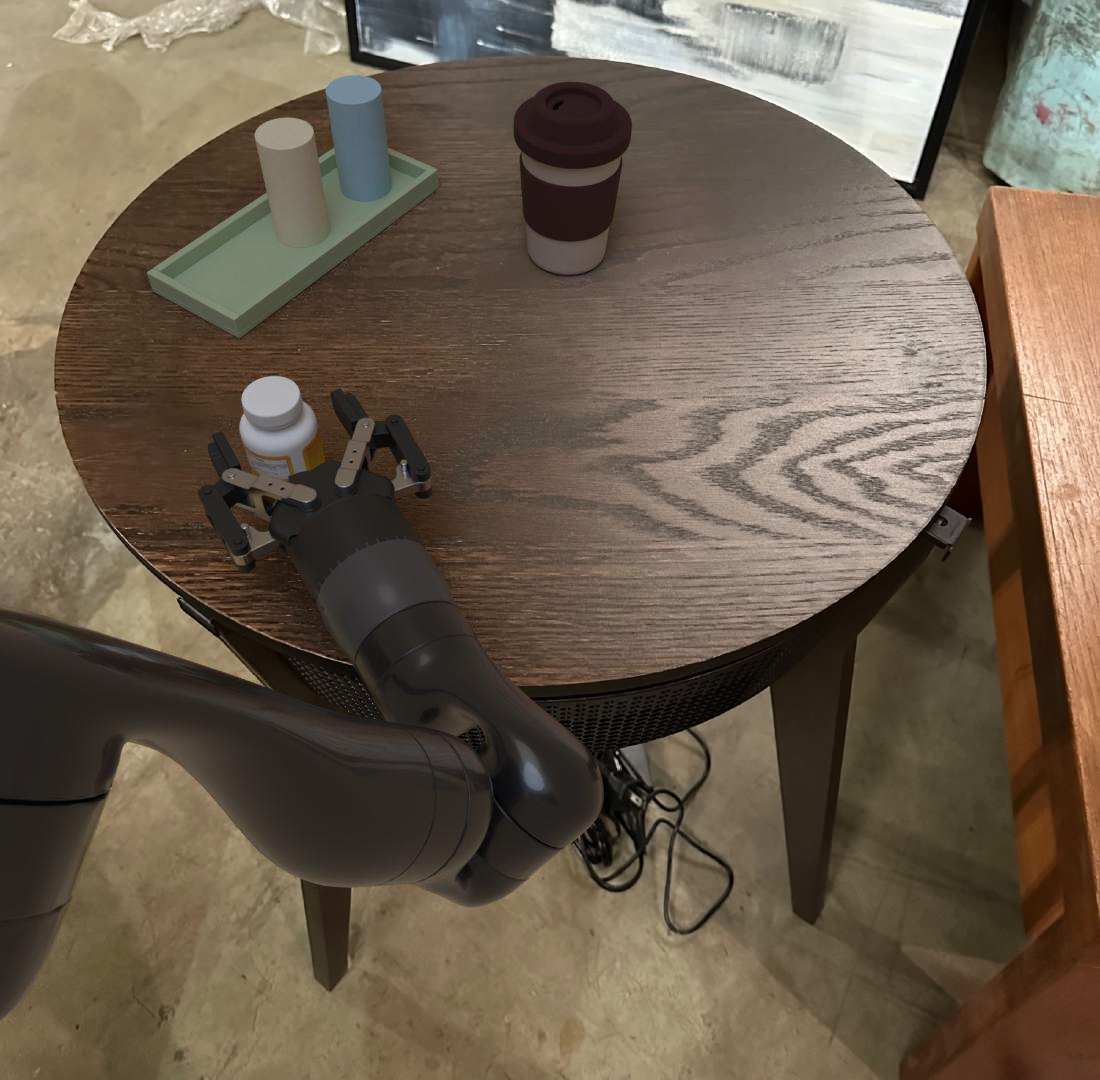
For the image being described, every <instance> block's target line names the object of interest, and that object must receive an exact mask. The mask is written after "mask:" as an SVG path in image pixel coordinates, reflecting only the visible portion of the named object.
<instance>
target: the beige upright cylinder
mask: <svg viewBox="0 0 1100 1080" xmlns="http://www.w3.org/2000/svg"><path fill="white" fill-rule="evenodd" d="M254 140H255V145H256V150H257V153H258V154H257V155H258V158H259V163H260V168H261V173H262V177H263V181H264V187H265V192H266V193H267V196H268V201H269V205H270V210H271V215H272V219H273V224H274V228H275V233H276V237H277V239H278V240H279V241H280V242H281V243H283V244H284V245H287V246H290V247H294V248H306V247H311V246H315V245H317V244H319V243H321V242H322V241H324V240H325V239H326V238H327V237H328V235H329V233H330V226H329V220H328V214H327V208H326V202H325V196H324V190H323V184H322V178H321V172H320V166H319V160H318V158H319V155H318V154H319V153H318V148H317V143H316V137H315V131H314V127H313V126H312V125H311V124H310V123H309V122H308V121H306V120H303V119H300V118H297V117H279V118H273V119H270V120H268V121H265V122H264V123H262V124H260V125H259V126H258V127H257V129H256V130H255V132H254Z"/></svg>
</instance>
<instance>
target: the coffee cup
mask: <svg viewBox="0 0 1100 1080" xmlns="http://www.w3.org/2000/svg"><path fill="white" fill-rule="evenodd" d="M632 130H633V121H632V118H631V115H630V113H629V112H628V110H627V109H626V108H625V107H624V106H623V105H622V104H621V103H620V102H618V101H616V100H615V99H614V98H613V97H612V95H611V94H610V93H609V92H607V91H606V90H605V89H603V88H601V87H599V86H597V85H594V84H591V83H587V82H582V81H561V82H556V83H552V84H549V85H546V86H545V87H543V88H541V89H539V90H538V91H537V92H536V93H535V95H533V96H531V97H530V98H527V99H526V100H525V101H523V102H522V103H521V104H520V105H519V106H518V107H517V109H516V110H515V113H514V115H513V139H514V143H515V145H516V146H517V148H518V149H519V150H520V153H519V161H518V162H519V173H520V174H519V175H520V176H519V177H520V188H521V202H522V204H521V205H522V215H523V219H524V221H525V227H526V228H525V230H526V243H527V245H526V246H527V252H528V255H529V257H530V259H531V261H532V262H533V263H534V264H535V265H536V266H537V267H539V268H541V269H542V270H544V271H546V272H549V273H552V274H556V275H561V276H562V275H563V276H571V275H572V276H574V275H581V274H584V273H587V272H589V271H592V270H593V269H595V268H596V267H597V266H599V265H600V264H601V262H602V261H603V259H604V256H605V255H606V251H607V244H608V237H609V232H610V226H611V224H612V222H613V220H614V217H615V216H614V215H615V211H616V206H617V205H616V203H617V198H618V194H619V193H618V192H619V187H620V181H621V180H620V179H621V174H622V169H623V154H625V152H627V150H628V148H629V147H630V144H631V141H632Z"/></svg>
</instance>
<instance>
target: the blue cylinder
mask: <svg viewBox="0 0 1100 1080" xmlns="http://www.w3.org/2000/svg"><path fill="white" fill-rule="evenodd" d="M382 90H383V89H382V85H381V84H380V82H378V81H377V80H376V79H374V78H372V77H369V76H365V75H361V74H360V75H359V74H358V75H357V74H353V75H352V74H351V75H344V76H341V77H340V76H339V77H338V78H335V79H333V80H332V81H330V82H329V83H328V84H327V85H326V87H325V97H326V103H327V109H328V117H329V123H330V130H331V136H332V142H333V148H334V150H335V157H336V163H337V170H338V177H339V183H340V189H341V192H342V193H343V195H344V196H346V197H347V198H349V199H352V200H355V201H363V202H366V201H374V200H378V199H380V198H382V197H384V196H386V195H387V194H388V193H389V192H390V190H391V187H392V184H391V174H390V165H389V155H388V148H389V147H388V138H387V137H388V136H387V128H386V119H385V117H386V116H385V109H384V99H383V91H382Z"/></svg>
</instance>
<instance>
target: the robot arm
mask: <svg viewBox="0 0 1100 1080" xmlns="http://www.w3.org/2000/svg"><path fill="white" fill-rule="evenodd" d="M329 395H330V400H331V405H332V409H333V412H334V414H335V416H336V417H337V419H338V420H339V422H340V423H341V425H342V426H343V428H344V430H345V431H346V433H347V434H348V436H349V437H350V439H349V440H348V442H347V445H346V449H345V451H344V454H343V458H342V460H341V461H334V459H333V458H332V459H329V460H327V461H326V462H324V463H322V464H320V465H319V466H317V467H315V468H314V469H312V470H308V471H303V472H298V473H296V474H293V475H291V476H288V478H289V480H288V481H287V482H286V481H283V480H280V479H277V478H274V477H272V476H269V475H266V474H260V475H259V476H256V475H253V474H252V473H249V472H247V471H244V470H243V469H242V466H241V463H240V461H239V459H238V457H237V456H236V454H235V452H234V450H233V448H232V446H231V445H230V443H229V441H228V439H227V437H226V436H225V433H224V432H223V430H221V431H217V432H215V433H213V434H211V437H212V439H213V441H212V442H210V443H208V444H207V453H208V455H209V459H210V461H211V463H212V466H213V468H214V469H215V470H214V471H215V472H216V475H218V478H219V479H218V481H217V482H215V483H214V484H206V485H203V486H202V487H200V488H199V489H198V491H197V495H198V498H199V500H200V502H201V503H202V506H203V508H204V511H205V516H206V519H207V521H208V522H209V524H210V526H211V527H212V529H213V531H214V533H215V534H216V536H217V537H218V539H219V540H220V542H221V544H222V545H223V547H224V549H225V550H226V552H227V554H228V555H229V558H230V559H231V560H232V562H233V564H234V566H235V567H236V569H237V570H238V571H239V572H241V573H248V572H251V571H253V570H254V569H255V567H256V565H257V561H256V559H258V558H260V557H263V556H264V555H267V554H270V553H271V552H273V551H275V550H278V551H279V552H281V553H284V554H285V555H286V556H288V557H289V560H291V562H292V564H293V566H294V567H295V569H296V571H297V574H298V575H299V577H300V579H301V581H302V583H303V585H304V587H305V588H306V590H307V592H308V594H309V596H310V597H311V599H312V601H313V604H314V605H315V606H316V608H317V611H318V612H319V614H320V616H321V618H322V623H323V626H324V627H325V629H326V630H327V632H328V633H329V635H331V636H332V638H333V640H334V642H335V643H336V645H337V646H338V648H339V650H340V651H341V652H342V653H343V655H344V656H345V657H346V658H347V660H348V661H349V662H350V664H351V665H352V667H353V668H354V669H355V671H356V673H357V675H358V677H359V679H360V681H361V683H362V685H363V686H364V688H365V690H366V692H367V693H368V695H369V698H370V699H371V701H372V703H373V705H374V706H375V708H376V711H377V712H378V713H379V716H380V717H381V719H377V718H376V719H375V718H370V717H363V716H357V715H354V714H349V713H344V712H340V711H335V710H332V709H329V708H326V707H322V706H318V705H316V704H313V703H309V702H307V701H304V700H302V699H298V698H296V697H293V696H290V695H288V694H285V693H282V692H280V691H277V690H275V689H272V688H270V687H267V686H265V685H261V684H259V683H256V682H254V681H250V680H248V679H246V678H242V677H239V676H237V675H233V674H231V673H228V672H225V671H222V670H218V669H215V668H213V667H211V666H206V665H204V664H201V663H198V662H195V661H192V660H188V659H186V658H182V657H179V656H177V655H173V654H170V653H167V652H164V651H160V650H158V649H154V648H151V647H148V646H145V645H142V644H138V643H135V642H132V641H129V640H127V639H123V638H120V637H117V636H113V635H110V634H107V633H104V632H100V631H97V630H94V629H90V628H87V627H84V626H81V625H78V624H74V623H71V622H67V621H64V620H60V619H57V618H55V617H50V616H48V615H44V614H40V613H37V612H34V611H31V610H26V609H24V608H23V609H22V608H19V607H15V606H12V605H8V604H4V603H0V1022H1V1021H3V1020H4V1019H5V1018H6V1017H7V1016H8V1015H10V1014H11V1013H12V1012H13V1011H15V1010H16V1009H17V1008H18V1007H20V1005H21V1004H22V1002H24V1000H25V998H26V997H27V996H28V995H29V993H30V992H31V991H32V988H33V987H34V985H35V983H36V981H37V980H38V978H39V976H40V975H41V972H42V971H43V969H44V967H45V966H46V963H47V961H48V959H49V957H50V955H51V953H52V951H53V948H54V946H55V944H56V941H57V939H58V936H59V934H60V931H61V928H62V926H63V923H64V921H65V918H66V916H67V913H68V911H69V908H70V905H71V903H72V900H73V894H74V892H75V890H76V888H77V886H78V883H79V881H80V877H81V875H82V872H83V869H84V865H85V863H86V860H87V858H88V855H89V852H90V849H91V846H92V843H93V840H94V837H95V834H96V832H97V829H98V826H99V823H100V820H101V818H102V815H103V812H104V810H105V807H106V804H107V801H108V798H109V795H110V792H111V788H112V787H113V783H114V781H115V777H116V774H117V772H118V768H119V766H120V761H121V758H122V757H121V756H122V753H123V748H124V746H125V745H126V744H127V743H131V744H135V745H139V746H142V747H146V748H148V749H151V750H153V751H156V752H158V753H160V754H162V755H164V757H165V756H166V757H167V758H169V759H170V760H172V761H173V762H174V763H176V764H178V765H179V766H180V767H182V769H184V771H186V772H187V773H188V774H189V775H190V776H191V777H192V778H193V779H194V780H195V781H196V782H198V784H199V785H201V787H202V788H203V789H204V790H205V791H206V792H207V794H209V796H210V797H211V798H212V799H213V800H214V802H216V804H217V805H218V806H219V807H220V808H221V810H222V811H223V812H224V813H225V815H226V816H227V817H228V819H229V820H230V821H231V822H232V823H233V825H234V826H235V827H236V828H237V829H238V830H239V832H241V834H242V835H243V837H245V838H246V839H247V841H248V842H249V843H250V844H251V845H252V846H253V847H254V848H255V849H256V850H257V851H258V853H260V854H261V855H262V856H263V857H265V859H267V860H268V861H269V862H271V863H272V864H274V865H275V866H276V867H278V868H279V869H281V870H283V871H284V872H286V873H287V874H289V875H291V876H293V877H296V878H298V879H300V880H303V881H306V882H309V883H312V884H316V885H320V886H323V887H324V886H325V887H333V888H335V887H336V888H349V889H350V888H351V889H354V888H355V889H356V888H368V887H385V886H386V887H387V886H402V885H403V886H404V885H412V886H416V887H418V888H420V889H422V890H424V891H426V892H429V893H431V894H434V895H437V896H439V897H441V898H443V899H445V900H447V901H450V902H451V903H454V904H456V905H458V906H461V907H464V908H479V907H484V906H487V905H491V904H493V903H495V902H498V901H500V900H503V899H504V898H506V897H507V896H509V895H511V894H513V893H514V892H515V891H517V890H518V889H519V888H520V887H521V886H522V885H523V884H525V883H526V882H527V881H528V880H530V879H531V878H532V877H533V876H534V875H535V874H536V873H537V872H539V871H540V870H541V869H542V868H543V867H544V866H546V865H547V864H548V863H549V862H551V861H552V859H554V858H555V857H556V856H558V855H559V853H561V852H562V851H563V850H564V849H566V848H567V847H568V846H569V845H571V844H572V843H573V842H574V841H576V840H577V839H578V838H579V837H580V836H581V835H583V834H584V833H585V832H586V831H587V830H588V829H589V828H591V826H592V825H593V824H594V823H595V821H596V820H597V819H598V818H599V816H600V814H601V812H602V809H603V805H604V804H603V803H604V782H603V777H602V773H601V770H600V767H599V765H598V762H597V761H596V759H595V757H594V756H593V754H592V752H591V751H590V750H589V749H588V747H587V746H586V745H585V744H584V743H583V742H582V741H581V740H580V739H579V737H577V736H576V735H575V734H574V733H573V732H571V730H569V729H568V728H567V727H566V726H565V725H563V724H562V723H560V722H559V720H557V719H555V718H554V717H553V716H552V715H551V714H550V713H549V712H547V711H546V710H544V709H543V708H542V707H541V706H539V704H537V703H536V702H535V701H534V700H532V698H530V697H529V696H528V695H527V694H526V693H525V692H524V691H523V690H522V689H521V688H520V687H519V686H518V685H517V684H515V683H514V681H512V680H511V678H510V677H509V676H508V675H507V674H506V673H505V672H504V671H503V670H502V669H501V668H500V667H499V666H498V665H497V663H496V662H495V661H494V660H493V659H492V658H491V656H490V655H489V653H488V652H487V650H486V649H485V648H484V646H483V644H482V643H481V642H480V640H479V638H478V637H477V635H476V633H475V632H474V630H473V629H472V627H471V626H470V624H469V622H468V621H467V619H466V618H465V616H464V614H463V613H462V612H461V610H460V608H459V606H458V603H457V602H456V600H455V598H454V595H453V593H452V591H451V588H450V586H449V584H448V582H447V580H446V579H445V577H444V575H443V574H442V572H441V570H440V568H439V567H438V566H437V564H436V562H435V561H434V559H433V558H432V556H431V555H430V553H429V552H428V550H427V548H426V547H425V545H424V543H423V542H422V540H421V539H420V538H419V536H418V534H417V533H416V531H415V530H414V528H413V527H412V525H411V523H410V522H409V520H408V519H407V517H406V516H405V514H404V513H403V511H402V509H401V508H400V506H399V505H398V503H397V500H399V499H402V498H405V497H407V496H411V495H413V494H414V496H416V498H418V499H423V500H424V499H428V498H430V497H431V496H432V494H433V483H432V474H431V473H432V472H431V466H430V464H429V462H428V460H427V458H426V457H425V455H424V453H423V452H422V450H421V448H420V447H419V445H418V443H417V441H416V439H415V438H414V436H413V434H412V432H411V431H410V429H409V426H407V424H406V422H405V421H404V419H403V417H402V416H401V415H399V414H390V415H388V416H386V418H385V420H374V419H373V418H370V417H369V415H368V413H367V412H366V410H365V409H364V408H363V406H362V405H361V403H360V402H359V400H358V398H357V397H356V396H355V395H354V394H353V393H351V392H347V393H344V392H343V390H342V389H341V388H336V389H334V390H332V391H330V392H329ZM385 448H389V450H390V453H391V454H392V456H393V458H394V459H395V461H396V463H397V466H396V467H395V478H393V479H392V480H391V479H390V478H388V477H387V476H384V475H381V474H378V473H377V472H374V465H375V461H376V457H377V453H378V450H379V449H385ZM276 499H277V501H276ZM234 506H236V507H238V508H241V509H243V510H246V511H249V512H252V513H254V514H256V515H257V516H258V517H259V519H261V520H263V521H265V522H268V530H266V531H260V530H258V529H256V528H255V527H254V526H252V525H249V524H248V523H247V522H243V523H241V524H240V523H239V521H238V520H237V517H235V515H234V513H233V512H232V510H231V508H233V507H234ZM478 726H479V728H480V729H481V731H482V733H483V736H484V738H485V739H484V740H483V741H482V742H480V744H479V745H477V746H476V747H475V748H474V747H472V746H471V745H470V744H469V743H467V742H466V741H465V740H463V739H462V738H460V737H459V736H461V735H462V734H464V733H467V732H468V731H470V730H473V729H474V728H477V727H478Z"/></svg>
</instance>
